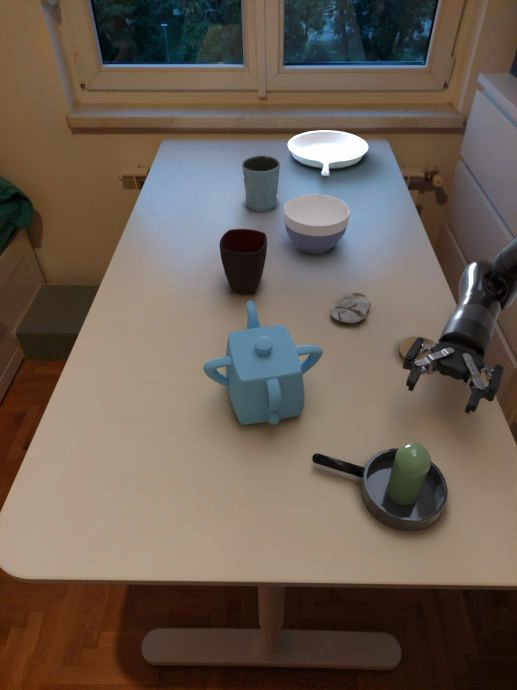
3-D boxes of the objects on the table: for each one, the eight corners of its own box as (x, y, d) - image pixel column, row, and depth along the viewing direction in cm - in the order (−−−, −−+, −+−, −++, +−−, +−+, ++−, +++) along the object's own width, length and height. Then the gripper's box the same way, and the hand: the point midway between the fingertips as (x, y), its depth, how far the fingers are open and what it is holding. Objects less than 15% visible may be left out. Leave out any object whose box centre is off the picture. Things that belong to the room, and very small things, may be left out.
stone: (360, 331, 102) (362, 321, 101) (326, 322, 105) (327, 312, 103) (372, 304, 109) (374, 295, 107) (340, 296, 111) (341, 286, 109)
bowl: (358, 251, 124) (363, 216, 118) (301, 267, 119) (304, 232, 113) (325, 222, 135) (328, 188, 128) (271, 236, 130) (272, 202, 123)
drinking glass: (280, 197, 146) (281, 156, 137) (276, 214, 138) (277, 172, 130) (246, 195, 147) (245, 154, 138) (240, 211, 139) (239, 170, 131)
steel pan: (446, 472, 78) (451, 461, 76) (437, 542, 70) (443, 532, 68) (370, 450, 81) (372, 439, 79) (353, 514, 73) (355, 504, 71)
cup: (218, 297, 111) (214, 251, 103) (232, 263, 121) (229, 218, 113) (262, 302, 110) (262, 255, 101) (272, 267, 120) (273, 221, 111)
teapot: (328, 392, 90) (335, 337, 81) (272, 451, 81) (273, 396, 72) (251, 349, 99) (249, 294, 90) (192, 397, 90) (184, 342, 81)
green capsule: (420, 482, 76) (436, 441, 69) (416, 510, 73) (432, 470, 66) (388, 473, 77) (401, 431, 70) (383, 499, 74) (395, 459, 67)
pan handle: (367, 472, 77) (369, 466, 76) (365, 481, 76) (366, 475, 74) (313, 455, 79) (314, 449, 78) (310, 464, 78) (311, 458, 77)
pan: (365, 142, 175) (367, 128, 172) (369, 192, 147) (371, 177, 144) (290, 138, 178) (291, 125, 174) (279, 187, 150) (280, 172, 147)
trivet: (443, 346, 99) (444, 342, 98) (438, 373, 94) (440, 369, 93) (402, 336, 101) (403, 332, 101) (395, 362, 96) (396, 359, 95)
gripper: (430, 304, 85) (397, 363, 75) (519, 333, 79) (496, 400, 69) (420, 337, 90) (388, 396, 80) (503, 366, 85) (480, 433, 74)
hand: (439, 398), depth 75 cm, fingers open, 8 cm apart
